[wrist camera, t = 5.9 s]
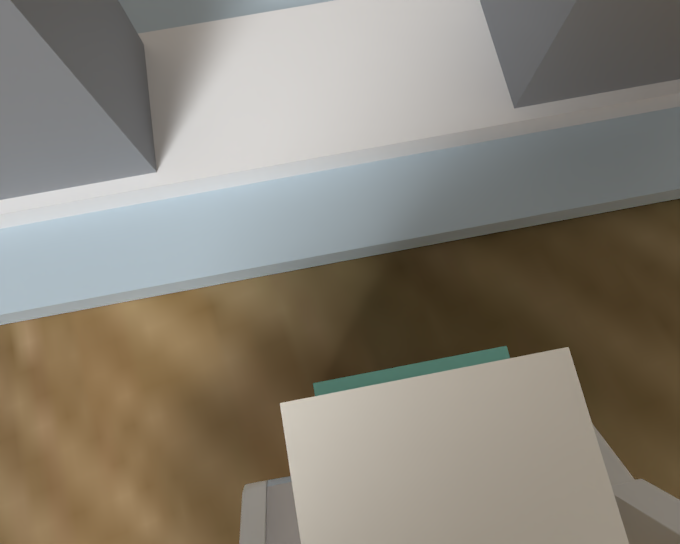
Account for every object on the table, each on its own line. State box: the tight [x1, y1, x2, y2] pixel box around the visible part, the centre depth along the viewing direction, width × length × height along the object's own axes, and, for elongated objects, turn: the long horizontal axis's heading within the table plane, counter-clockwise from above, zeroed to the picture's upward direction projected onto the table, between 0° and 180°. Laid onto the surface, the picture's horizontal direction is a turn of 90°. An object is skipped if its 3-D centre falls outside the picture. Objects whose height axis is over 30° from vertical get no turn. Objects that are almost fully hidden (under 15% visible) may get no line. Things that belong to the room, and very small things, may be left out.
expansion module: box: [280, 346, 629, 544], centre depth 11 cm, size 5×4×9 cm
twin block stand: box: [0, 0, 680, 325], centre depth 14 cm, size 12×28×10 cm, turn 101°
